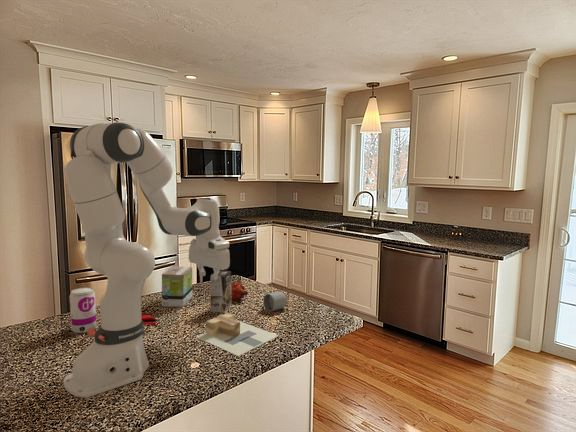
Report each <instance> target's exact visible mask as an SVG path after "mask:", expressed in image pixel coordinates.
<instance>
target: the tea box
mask: <svg viewBox="0 0 576 432" xmlns="http://www.w3.org/2000/svg"><path fill="white" fill-rule="evenodd" d="M192 297H193V267H192V266H171V267H170V268H169V269H167V270H166V271H164V272H162V274H161V306H162V307H166V308H167V307H169V308H170V307H173V308H174V307H175V308H183V307H184V306H186V304H187V303H188V301H190V299H192Z"/></svg>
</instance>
